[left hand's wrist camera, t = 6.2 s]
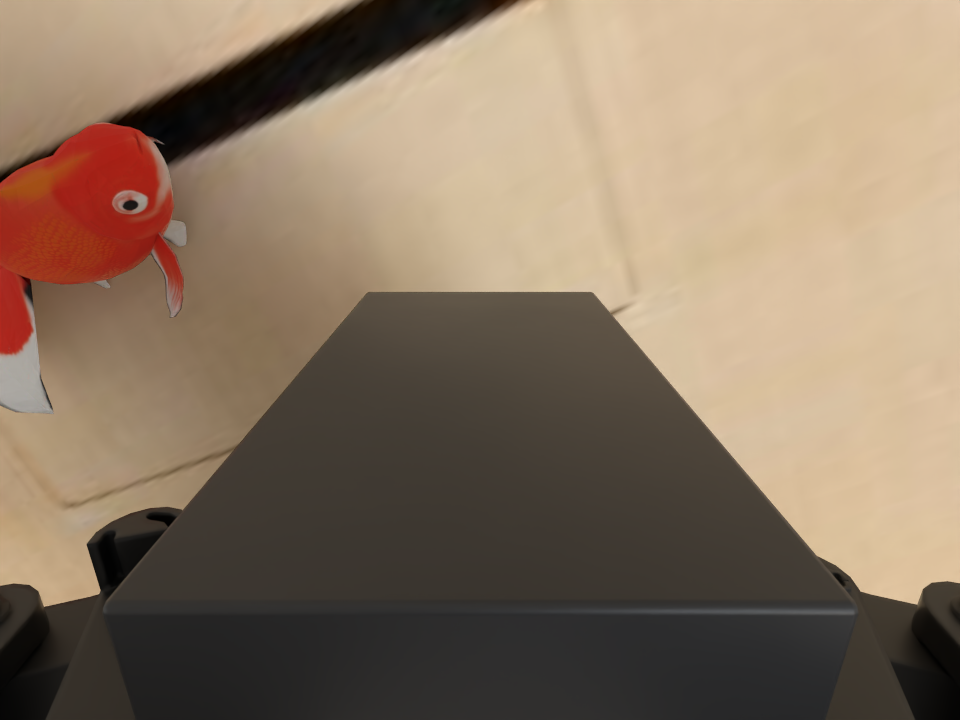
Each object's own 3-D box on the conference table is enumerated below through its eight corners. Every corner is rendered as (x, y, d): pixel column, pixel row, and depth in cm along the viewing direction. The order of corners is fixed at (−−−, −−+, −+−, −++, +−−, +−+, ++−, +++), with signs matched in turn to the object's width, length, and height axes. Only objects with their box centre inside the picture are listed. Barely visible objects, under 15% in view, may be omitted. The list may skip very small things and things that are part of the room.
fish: (298, 379, 21) (-31, 431, 13) (96, 405, 29) (-195, 448, 20) (257, 108, 21) (-107, -28, 13) (64, 206, 29) (-244, 165, 20)
